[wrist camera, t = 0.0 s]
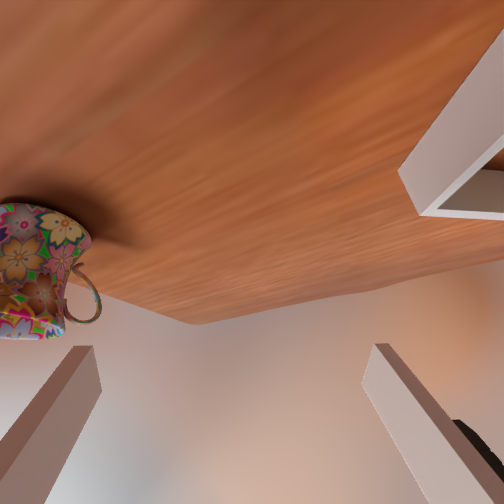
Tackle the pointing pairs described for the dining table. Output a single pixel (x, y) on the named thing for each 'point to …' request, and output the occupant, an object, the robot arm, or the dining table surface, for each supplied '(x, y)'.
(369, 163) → the dining table surface
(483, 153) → the rectangular frame
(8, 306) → the mug
